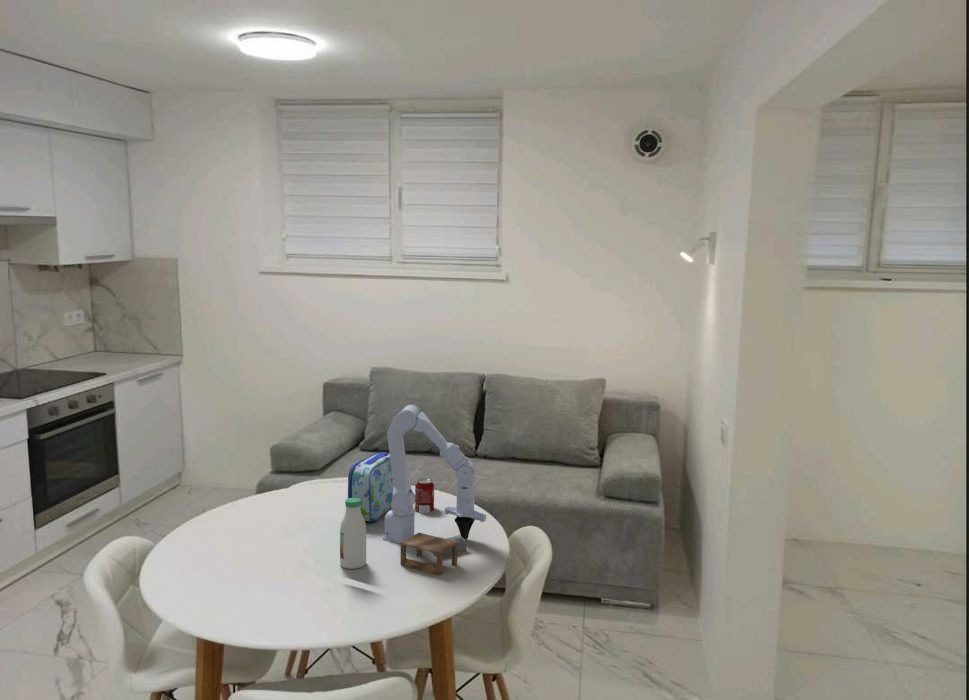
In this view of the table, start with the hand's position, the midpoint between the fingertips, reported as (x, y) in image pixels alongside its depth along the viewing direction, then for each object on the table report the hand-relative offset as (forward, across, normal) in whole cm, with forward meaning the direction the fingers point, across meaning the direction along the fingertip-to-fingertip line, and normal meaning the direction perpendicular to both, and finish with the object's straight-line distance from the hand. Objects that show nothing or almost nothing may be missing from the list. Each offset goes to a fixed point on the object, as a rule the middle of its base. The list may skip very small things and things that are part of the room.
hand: (464, 538), depth 241 cm
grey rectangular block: (+1, 0, -10) cm, 10 cm away
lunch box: (+2, -42, +6) cm, 42 cm away
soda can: (+1, -26, +16) cm, 31 cm away
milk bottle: (+1, -19, -33) cm, 38 cm away
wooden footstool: (+1, 0, -21) cm, 21 cm away
